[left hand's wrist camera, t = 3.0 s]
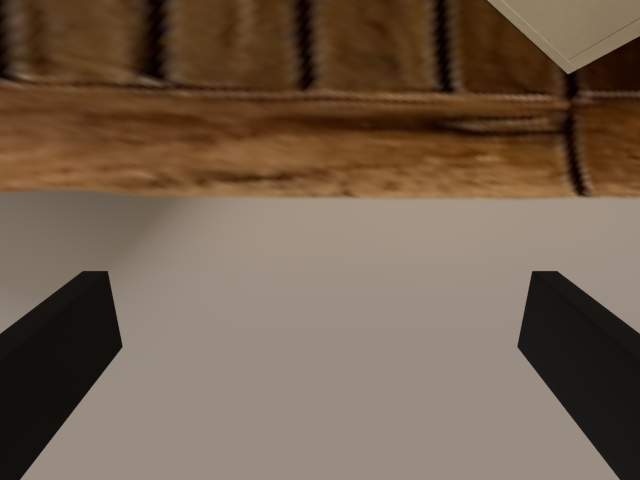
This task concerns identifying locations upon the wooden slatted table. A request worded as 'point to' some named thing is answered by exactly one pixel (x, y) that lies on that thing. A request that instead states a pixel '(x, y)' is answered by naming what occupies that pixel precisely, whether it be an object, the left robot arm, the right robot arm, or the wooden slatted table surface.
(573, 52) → the chest
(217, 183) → the wooden slatted table surface
